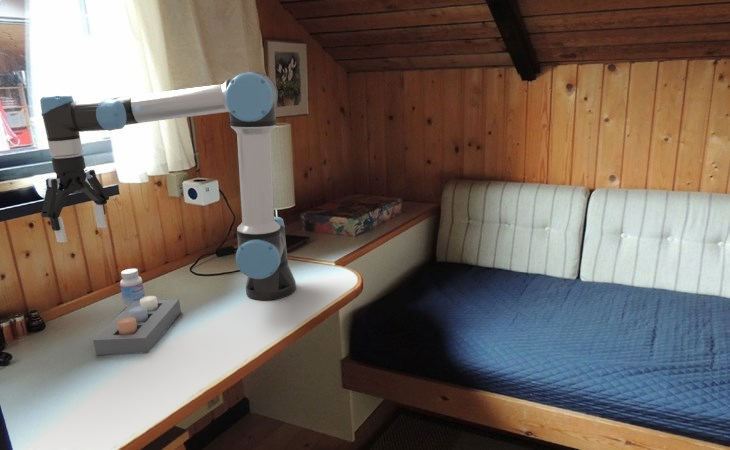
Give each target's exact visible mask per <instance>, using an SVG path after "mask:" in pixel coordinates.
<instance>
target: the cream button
mask: <svg viewBox="0 0 730 450" xmlns="http://www.w3.org/2000/svg"><path fill="white" fill-rule="evenodd" d="M157 300H158V297H157V296H156V295H147V296H145V297H143V298H141V299H140V305H141V306H145V307H147V311H156V310H157V309H158V303H157Z"/></svg>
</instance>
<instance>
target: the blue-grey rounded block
mask: <svg viewBox="0 0 730 450" xmlns="http://www.w3.org/2000/svg"><path fill="white" fill-rule="evenodd" d="M129 315H130V317H134V318H135V319H136V323H137V322H146V321H147V320H148V313H147V307H145V306H137V307H134V308H131V309H130V310H129Z"/></svg>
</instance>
